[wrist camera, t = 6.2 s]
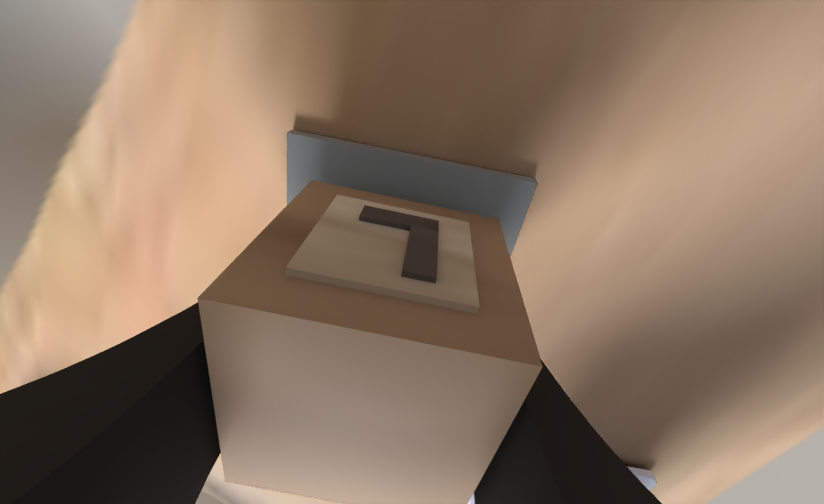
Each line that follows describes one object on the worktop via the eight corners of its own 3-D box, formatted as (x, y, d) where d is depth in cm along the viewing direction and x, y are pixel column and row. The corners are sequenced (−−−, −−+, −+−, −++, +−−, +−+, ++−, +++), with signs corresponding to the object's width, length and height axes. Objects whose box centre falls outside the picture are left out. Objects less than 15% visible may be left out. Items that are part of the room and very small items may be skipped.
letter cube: (452, 351, 12) (456, 524, 8) (304, 322, 12) (225, 481, 8) (502, 210, 9) (550, 353, 5) (312, 170, 9) (195, 282, 5)
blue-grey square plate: (471, 350, 14) (471, 358, 14) (291, 316, 14) (287, 323, 13) (534, 178, 10) (538, 182, 10) (292, 129, 10) (286, 132, 10)
